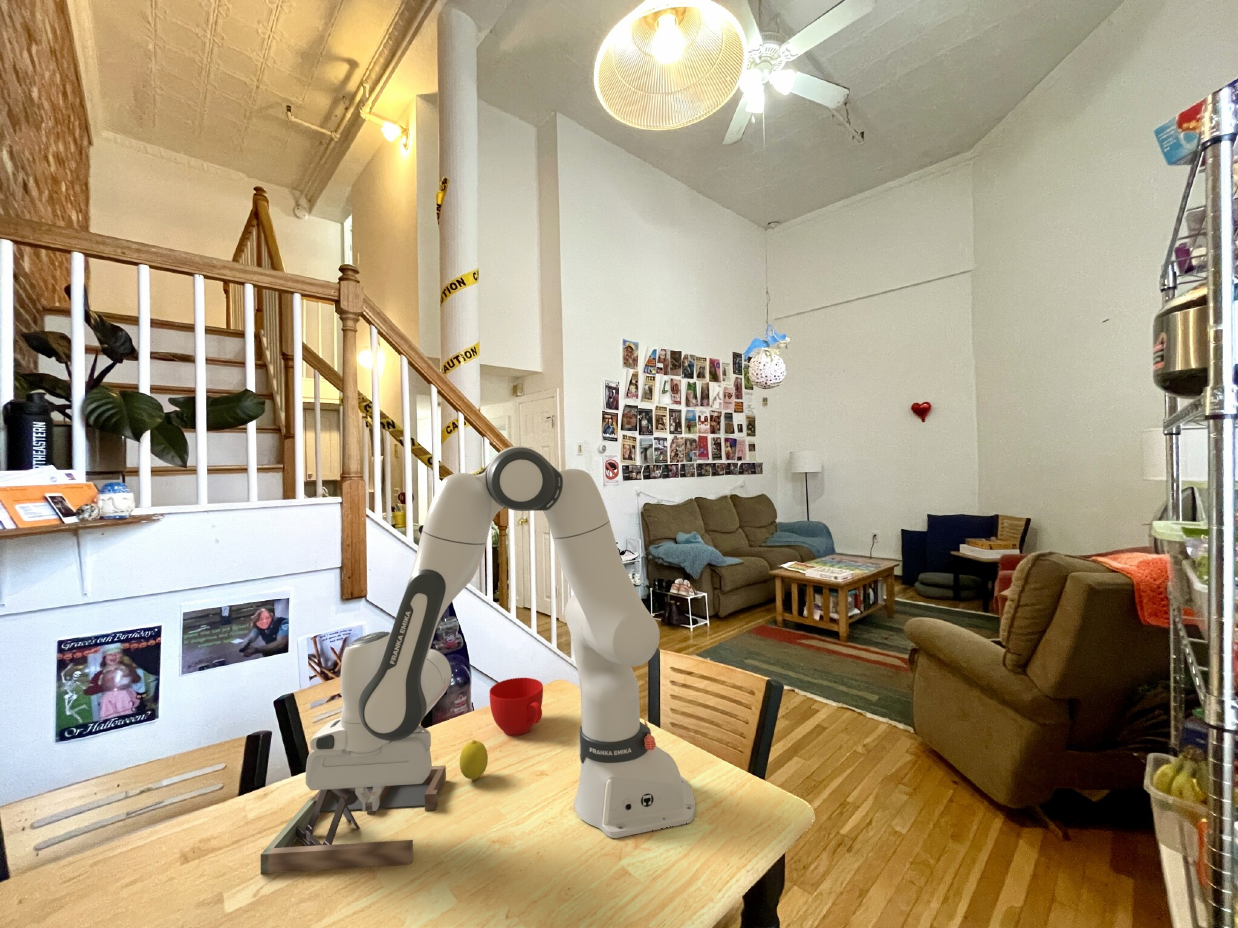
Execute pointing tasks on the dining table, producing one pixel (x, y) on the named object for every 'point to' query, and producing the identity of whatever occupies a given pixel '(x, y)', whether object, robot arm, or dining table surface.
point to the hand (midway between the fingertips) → (370, 809)
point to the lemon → (473, 760)
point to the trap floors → (390, 798)
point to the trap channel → (343, 855)
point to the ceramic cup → (516, 704)
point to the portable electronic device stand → (343, 800)
